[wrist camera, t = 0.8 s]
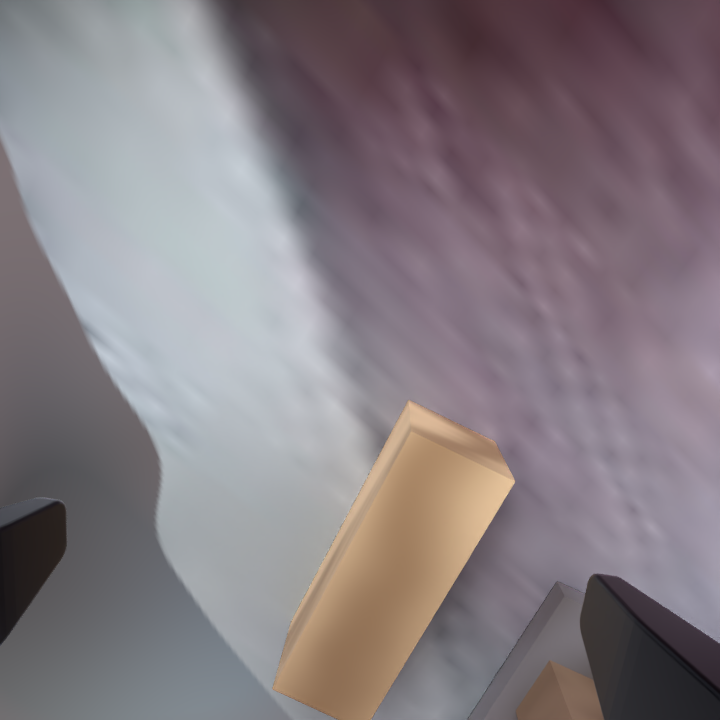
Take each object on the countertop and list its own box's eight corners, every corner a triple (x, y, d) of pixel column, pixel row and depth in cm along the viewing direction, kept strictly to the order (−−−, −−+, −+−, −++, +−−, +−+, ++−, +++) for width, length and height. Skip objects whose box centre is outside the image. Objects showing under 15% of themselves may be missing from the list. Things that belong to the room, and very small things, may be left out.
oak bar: (493, 439, 22) (515, 481, 18) (368, 653, 24) (363, 731, 20) (408, 397, 21) (410, 431, 18) (292, 617, 24) (272, 689, 20)
